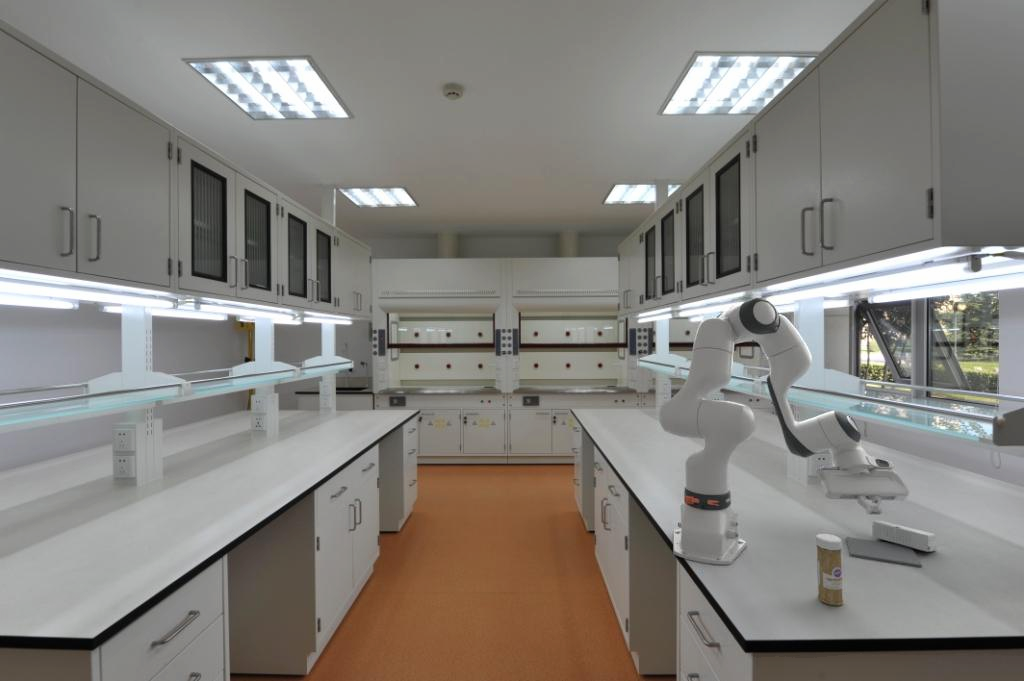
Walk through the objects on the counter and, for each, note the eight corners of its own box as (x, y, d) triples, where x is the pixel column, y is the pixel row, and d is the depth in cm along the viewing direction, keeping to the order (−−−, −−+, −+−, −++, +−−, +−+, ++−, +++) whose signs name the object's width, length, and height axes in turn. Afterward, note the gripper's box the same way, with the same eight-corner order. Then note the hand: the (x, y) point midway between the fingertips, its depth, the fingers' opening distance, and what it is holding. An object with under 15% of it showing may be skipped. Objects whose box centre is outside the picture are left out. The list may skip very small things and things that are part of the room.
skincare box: (880, 520, 135) (936, 532, 125) (880, 536, 134) (936, 550, 124) (871, 521, 132) (928, 533, 122) (871, 538, 131) (928, 552, 121)
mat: (921, 567, 116) (921, 564, 116) (850, 556, 123) (850, 553, 123) (910, 548, 126) (910, 546, 126) (845, 538, 133) (845, 536, 133)
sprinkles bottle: (834, 608, 99) (832, 542, 99) (812, 598, 103) (810, 535, 103) (848, 603, 101) (846, 538, 101) (826, 593, 105) (824, 531, 105)
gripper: (817, 460, 138) (835, 506, 128) (898, 461, 135) (923, 509, 125) (811, 472, 142) (828, 517, 133) (889, 473, 139) (912, 520, 129)
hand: (875, 513), depth 129 cm, fingers closed
